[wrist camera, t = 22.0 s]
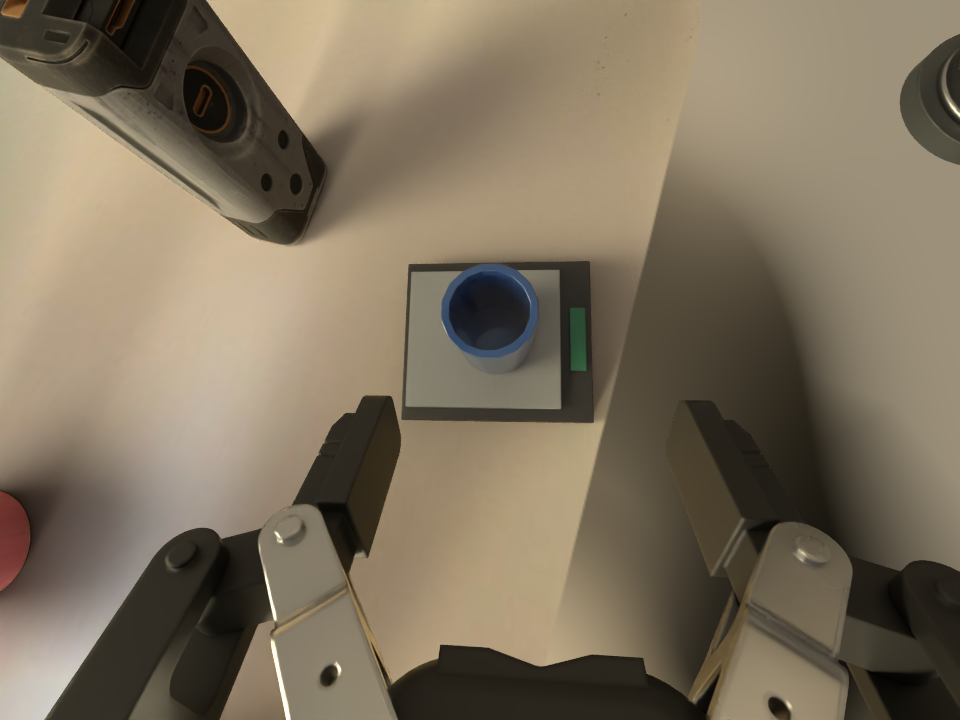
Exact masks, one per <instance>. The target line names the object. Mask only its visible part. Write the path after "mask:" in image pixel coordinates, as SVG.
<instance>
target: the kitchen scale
mask: <svg viewBox="0 0 960 720" xmlns="http://www.w3.org/2000/svg"><path fill="white" fill-rule="evenodd" d="M479 264H502V265H505V266H507V267H510V268H513V269H515V270H517V271H519V272H520V273H521V274H522V275H523V276H524V277H525V278H526V279H527V280H528V281H529V282H530V283H531V284H532V287H533V289H534V291H535V293H536V296H537V298H538V301H539V319H538V324H537V328H536V333H535V338H534V343H533V346H532V349H531V352H530V354H529V356H528V357H527V359H526V360H525V361H524V362H523V364H521V365H520V366H519V367H518V368H516V369H515V370H513V371H511V372H508V373H505V374H498V375H493V374H487V373H483V372H481V371H479V370H477V369H475V368H474V367H472V366H471V365H470V364H469V363H468V362H467V361H466V360H465V359H464V357H463V356H462V355H461V354H460V352H459V351H458V350H457V348H456V347H455V346H454V344H453V343H452V342H451V341H450V339H449V338H448V336H447V334H446V331H445V329H444V326H443V324H442V321H441V304H442V299H443V297H444V295H445V292H446V290H447V288H448V286H449V284H450V283H451V282H452V281H453V280H454V279H455V278H456V277H457V276H458V275H459V274H460V273H462V272H463V271H464V270H467V269H469V268H472V267H474V266H477V265H479ZM401 419H402V420H438V421H495V422H553V423H593V381H592V340H591V300H590V262H589V261H577V262H516V263H456V264H409V268H408V289H407V310H406V331H405V352H404V373H403V395H402V416H401Z"/></svg>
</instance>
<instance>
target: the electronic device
mask: <svg viewBox="0 0 960 720" xmlns="http://www.w3.org/2000/svg"><path fill="white" fill-rule="evenodd" d="M0 58H2V59H3V60H5V61H6V62H7V63H9V64H10V65H12V66H13V67H14V68H16V69H17V70H19V71H20V72H21V73H23V74H24V75H26V76H27V77H28V78H30V79H31V80H33V81H34V82H36V83H37V84H38V85H40V86H41V87H42V88H44V89H45V90H47V91H48V92H49V93H51V94H52V95H54V96H55V97H56V98H58V99H59V100H61V101H62V102H63V103H65V104H66V105H68V106H69V107H70V108H72V109H73V110H75V111H76V112H77V113H79V114H80V115H81V116H83V117H84V118H86V119H87V120H88V121H90V122H91V123H93V124H94V125H95V126H97V127H98V128H99V129H101V130H102V131H103V132H105V133H106V134H108V135H109V136H110V137H112V138H113V139H115V140H116V141H117V142H119V143H120V144H122V145H123V146H124V147H126V148H127V149H129V150H130V151H131V152H133V153H134V154H136V155H137V156H138V157H140V158H141V159H143V160H144V161H145V162H147V163H148V164H150V165H151V166H152V167H154V168H155V169H157V170H158V171H160V172H161V173H162V174H164V175H165V176H167V177H168V178H169V179H171V180H172V181H174V182H175V183H176V184H178V185H179V186H181V187H182V188H183V189H185V190H186V191H188V192H189V193H190V194H192V195H193V196H195V197H196V198H198V199H199V200H201V201H202V202H204V203H205V204H206V205H208V206H209V207H211V208H212V209H213V210H215V211H216V212H218V213H219V214H220V215H222V216H223V217H225V218H226V219H227V220H229V221H230V222H232V223H233V224H234V225H236V226H237V227H239V228H240V229H241V230H243V231H244V232H246V233H247V234H248V235H250V236H251V237H253V238H255V239H257V240H260V241H264V242H268V243H272V244H276V245H280V246H286V247H287V246H292V245H295V244H296V243H298V242H299V241H300V240H301V238H302V237H303V235H304V233H305V231H306V228H307V225H308V223H309V220H310V217H311V215H312V212H313V209H314V207H315V204H316V201H317V198H318V196H319V193H320V190H321V188H322V185H323V182H324V180H325V176H326V171H327V169H326V165H325V163H324V161H323V160H322V158H321V157H320V156H319V154H318V153H317V152H316V150H315V149H314V148H313V146H312V145H311V143H310V142H309V141H308V139H307V138H306V137H305V135H304V134H303V132H302V131H301V130H300V128H299V127H298V126H297V124H296V123H295V121H294V120H293V119H292V117H291V116H290V115H289V113H288V112H287V111H286V109H285V108H284V106H283V105H282V104H281V102H280V101H279V100H278V98H277V97H276V95H275V94H274V93H273V91H272V90H271V89H270V87H269V86H268V85H267V83H266V82H265V80H264V79H263V78H262V76H261V75H260V74H259V72H258V71H257V69H256V68H255V67H254V65H253V64H252V63H251V61H250V60H249V59H248V57H247V56H246V54H245V53H244V52H243V50H242V49H241V48H240V46H239V45H238V43H237V42H236V41H235V39H234V38H233V37H232V35H231V34H230V33H229V31H228V30H227V28H226V27H225V26H224V24H223V23H222V22H221V20H220V19H219V17H218V16H217V15H216V13H215V12H214V11H213V9H212V8H211V7H210V5H209V4H208V2H207V1H206V0H0Z"/></svg>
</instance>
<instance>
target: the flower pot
mask: <svg viewBox="0 0 960 720" xmlns="http://www.w3.org/2000/svg"><path fill="white" fill-rule="evenodd" d="M29 545H30V526H29V521H28V517H27V515H26V513H25V511H24V509H23V507H22V506H21V504H20V503H19V502H18V501H17V500H16V499H14V498H13V497H12V496H10V495H8V494H6V493H3V492H0V591H1V590H3V589H4V588H5V587H6V586H8V585H9V584H10V583H11V582H12V581H13V579H14V578H15V577H16V576H17V574H18V573H19V572H20V570H21V568H22V566H23V564H24V562H25V560H26V557H27V554H28V551H29Z"/></svg>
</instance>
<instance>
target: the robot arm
mask: <svg viewBox="0 0 960 720" xmlns="http://www.w3.org/2000/svg"><path fill="white" fill-rule="evenodd" d="M936 90H937V95H938V99H939V101H940V103H941V106H942V107H943V109H944V110H945V112H946V113H947V114H948V116H949V117H950V118H951V119H952V120H953V121H955V122H956V123H957V124H958V125H960V47H959V48H958V49H957V50H956V51H955V52H954V53H952V54H951V55H950V56H949V57H948V58H947V59H946V60H945V61H944V63H943V64H942V66H941V68H940V70H939V72H938V76H937V81H936ZM400 447H401V434H400V429H399V425H398V420H397V416H396V412H395V407H394V403H393V399H392V397H391V396H364V397H363V398H362V400H361V402H360V404H359V406H358V408H357V410H356V413H345V414H344V415H343V416H342V417H341V418H340V419H339V420H338V421H337V422H336V423H335V424H334V425H333V426H332V427H331V429H330V431H329V433H328V435H327V437H326V439H325V444H323V445H322V447H321V449H320V451H319V456H317V457H316V459H315V461H314V463H313V465H312V467H311V469H310V471H309V473H308V475H307V477H306V479H305V481H304V483H303V485H302V487H301V489H300V491H299V493H298V495H297V497H296V499H295V501H294V502H293V504H292V505H291V506H289V507H287V508H284V509H282V510H281V511H279V512H277V513H276V514H275V515H273V516H272V517H271V518H270V519H269V520H268V521H267V522H266V524H265V525H264V527H263V528H261V529H258V530H255V531H251V532H247V533H243V534H239V535H235V536H231V537H228V538H224V539H221V538H220V537H219V535H218V534H217V533H216V532H215V531H214V530H212V529H209V528H196V529H192V530H189V531H186V532H184V533H182V534H179V535H178V536H176V537H174V538H173V539H171V540H170V541H169V542H167V543H166V544H165V545H164V546H163V547H162V548H161V549H160V550H159V551H158V552H157V553H156V555H155V556H154V557H153V559H152V560H151V562H150V563H149V565H148V566H147V568H146V569H145V571H144V572H143V574H142V575H141V577H140V578H139V580H138V581H137V583H136V584H135V586H134V587H133V589H132V590H131V592H130V593H129V595H128V596H127V597H126V599H125V600H124V602H123V603H122V605H121V606H120V608H119V609H118V611H117V612H116V614H115V615H114V617H113V618H112V620H111V621H110V623H109V624H108V626H107V627H106V629H105V630H104V632H103V633H102V635H101V636H100V638H99V639H98V641H97V642H96V644H95V645H94V647H93V648H92V650H91V651H90V653H89V654H88V656H87V657H86V659H85V660H84V662H83V663H82V665H81V666H80V668H79V669H78V671H77V672H76V674H75V675H74V677H73V678H72V680H71V681H70V682H69V684H68V685H67V687H66V688H65V690H64V691H63V693H62V694H61V696H60V697H59V699H58V700H57V702H56V703H55V705H54V706H53V708H52V709H51V711H50V712H49V714H48V715H47V717H46V718H45V720H219V719H220V717H221V714H222V712H223V709H224V707H225V705H226V702H227V700H228V697H229V695H230V692H231V690H232V687H233V685H234V682H235V680H236V677H237V675H238V672H239V670H240V668H241V665H242V663H243V660H244V658H245V655H246V653H247V650H248V648H249V645H250V643H251V640H252V638H253V635H254V633H255V631H256V628H257V626H258V624H260V623H263V622H266V621H270V620H273V619H274V622H275V629H273V630H272V631H271V645H272V651H273V656H274V661H275V666H276V671H277V675H278V680H279V685H280V690H281V695H282V700H283V705H284V710H285V715H286V720H844V714H845V706H846V700H847V693H848V685H849V677H848V672H847V670H846V668H845V667H843V666H842V665H840V664H839V661H838V659H840V660H843V661H845V662H846V663H847V665H848V667H849V669H850V671H851V673H852V675H853V677H854V680H855V682H856V684H857V686H858V688H859V690H860V692H861V694H862V696H863V698H864V700H865V702H866V704H867V706H868V708H869V710H870V712H871V714H872V716H873V718H874V720H960V572H959V571H957V570H955V569H953V568H951V567H948V566H946V565H943V564H940V563H936V562H932V561H925V560H924V561H923V560H919V561H913V562H911V563H909V564H908V565H907V566H906V567H905V568H904V569H903V570H902V571H897V570H894V569H891V568H887V567H884V566H881V565H877V564H874V563H871V562H868V561H864V560H861V559H858V558H855V557H852V556H849V555H847V554H846V553H845V552H844V550H843V549H842V548H841V547H840V546H839V545H838V544H837V543H836V542H835V541H834V540H833V539H831V538H830V537H829V536H828V535H826V534H824V533H823V532H821V531H820V530H818V529H816V528H814V527H811V526H809V525H806V524H805V523H804V521H803V519H802V518H801V516H800V514H799V513H798V511H797V509H796V508H795V506H794V505H793V503H792V501H791V500H790V498H789V497H788V495H787V493H786V492H785V490H784V488H783V487H782V485H781V484H780V482H779V480H778V479H777V477H776V475H775V474H774V472H773V471H772V469H769V464H768V463H767V461H766V459H765V458H764V456H763V455H761V454H760V452H761V451H760V450H759V448H758V446H757V445H756V443H755V442H754V440H753V438H752V437H751V435H750V434H749V433H747V432H746V431H745V430H744V429H743V428H742V427H741V426H739V425H738V424H737V423H736V422H735V421H733V420H723V418H722V416H721V414H720V412H719V411H718V409H717V407H716V405H715V404H714V403H713V402H712V401H699V400H698V401H697V400H682V401H680V402H679V403H678V405H677V408H676V411H675V414H674V418H673V421H672V424H671V428H670V431H669V434H668V437H667V441H666V454H667V459H668V462H669V465H670V468H671V471H672V473H673V476H674V479H675V481H676V484H677V487H678V489H679V492H680V495H681V498H682V500H683V503H684V506H685V508H686V511H687V513H688V516H689V519H690V522H691V524H692V527H693V530H694V532H695V535H696V538H697V540H698V543H699V546H700V549H701V551H702V554H703V557H704V559H705V562H706V565H707V567H708V570H709V573H710V575H711V576H714V577H729V579H730V581H731V584H732V587H733V591H732V592H731V594H730V596H729V599H728V602H727V604H726V607H725V610H724V612H723V615H722V617H721V620H720V623H719V625H718V628H717V630H716V633H715V636H714V638H713V641H712V643H711V646H710V649H709V652H708V654H707V656H706V659H705V661H704V664H703V666H702V668H701V670H700V672H699V674H698V676H697V678H696V680H695V682H694V684H693V686H692V688H691V691H690V693H689V695H688V698H686V697H685V696H684V695H683V694H682V693H680V692H679V691H677V690H676V689H674V688H673V687H671V686H670V685H668V684H667V683H665V682H663V681H661V680H659V679H657V678H655V677H653V676H651V675H648V674H646V670H645V665H644V660H643V658H634V657H620V656H605V655H589V656H584V657H580V658H576V659H572V660H568V661H564V662H560V663H556V664H552V665H548V666H542V667H541V666H535V665H532V664H530V663H527V662H525V661H522V660H519V659H517V658H514V657H511V656H509V655H506V654H503V653H501V652H498V651H496V650H493V649H490V648H484V647H468V646H453V645H440V651H439V658H438V659H436V660H432V661H429V662H427V663H424V664H422V665H419V666H418V667H416V668H414V669H412V670H411V671H409V672H407V673H406V674H405V675H403V676H402V677H401V678H399V679H398V680H397V681H396V682H395V683H394V684H393V683H392V680H391V678H390V675H389V673H388V670H387V668H386V665H385V663H384V660H383V658H382V656H381V653H380V651H379V649H378V646H377V644H376V641H375V639H374V636H373V634H372V631H371V629H370V626H369V624H368V621H367V619H366V616H365V613H364V611H363V608H362V606H361V603H360V601H359V598H358V596H357V593H356V590H355V588H354V585H353V583H352V580H351V578H350V575H349V571H350V568H351V565H352V562H353V559H354V558H368V556H369V553H370V550H371V546H372V543H373V540H374V536H375V533H376V530H377V526H378V523H379V520H380V516H381V513H382V510H383V506H384V503H385V500H386V496H387V493H388V490H389V486H390V483H391V480H392V476H393V473H394V470H395V466H396V463H397V460H398V456H399V453H400Z"/></svg>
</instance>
